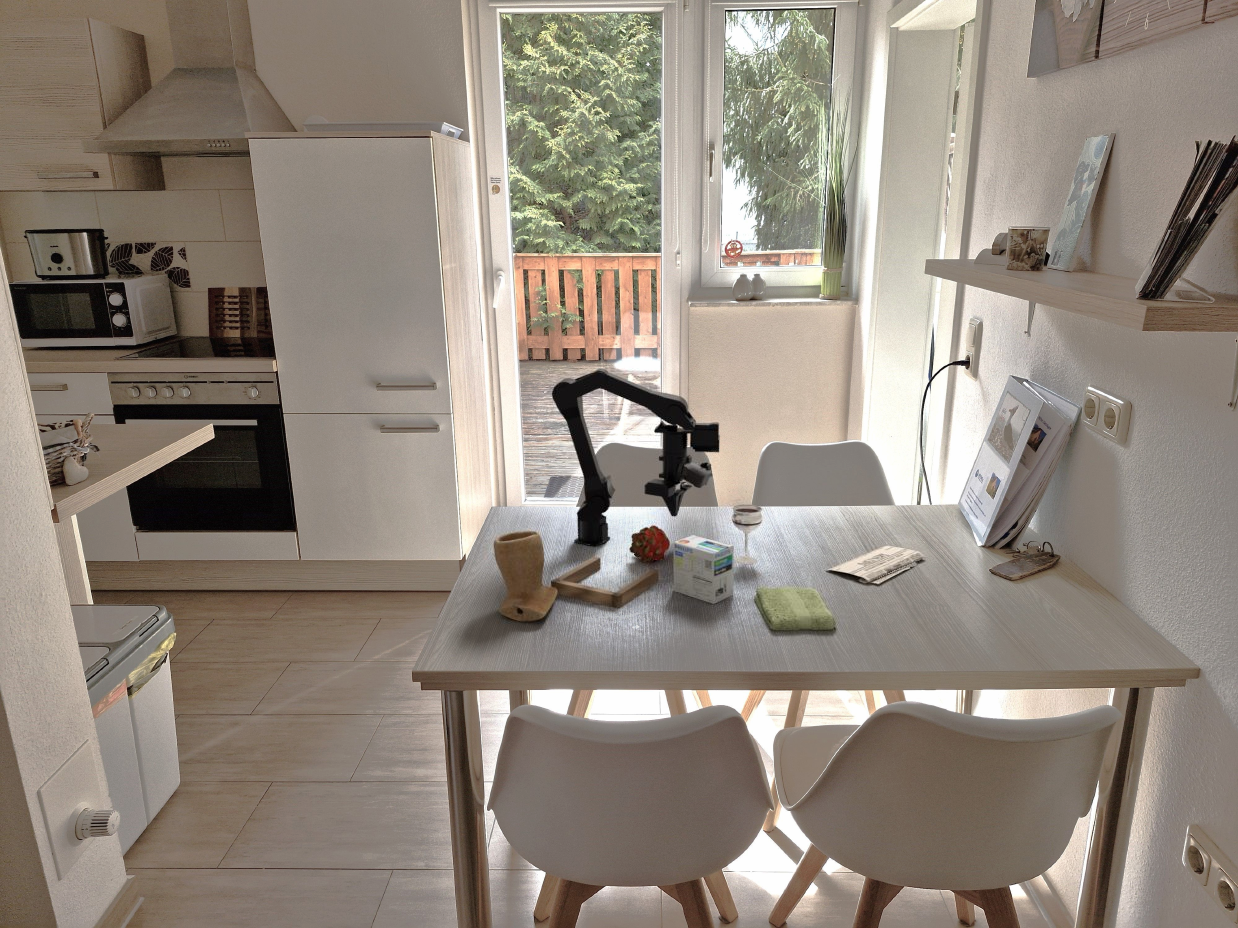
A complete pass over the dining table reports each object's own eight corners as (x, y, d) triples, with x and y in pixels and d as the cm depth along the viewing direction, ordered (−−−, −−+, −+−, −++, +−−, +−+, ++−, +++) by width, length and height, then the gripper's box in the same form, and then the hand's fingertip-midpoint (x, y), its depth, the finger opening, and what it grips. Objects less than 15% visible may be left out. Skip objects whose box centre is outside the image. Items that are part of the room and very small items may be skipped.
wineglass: (760, 555, 199) (761, 504, 196) (762, 565, 193) (763, 513, 190) (730, 554, 200) (731, 503, 197) (731, 565, 193) (732, 513, 190)
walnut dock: (551, 592, 179) (550, 581, 179) (594, 567, 193) (594, 556, 192) (618, 608, 171) (618, 596, 171) (658, 580, 185) (658, 569, 184)
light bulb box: (734, 595, 177) (735, 544, 174) (714, 605, 172) (714, 553, 170) (692, 582, 184) (693, 533, 181) (672, 591, 179) (672, 541, 177)
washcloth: (815, 596, 177) (816, 581, 176) (838, 633, 160) (839, 617, 159) (751, 597, 177) (751, 582, 176) (766, 635, 160) (767, 618, 159)
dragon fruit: (639, 576, 192) (652, 565, 203) (671, 556, 189) (682, 546, 201) (618, 543, 192) (632, 534, 204) (649, 523, 190) (661, 514, 202)
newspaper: (875, 590, 180) (875, 578, 180) (826, 579, 190) (825, 568, 189) (934, 562, 195) (933, 551, 194) (885, 554, 204) (885, 543, 203)
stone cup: (506, 591, 180) (503, 522, 176) (563, 595, 178) (561, 524, 174) (483, 622, 166) (479, 547, 162) (544, 626, 164) (541, 550, 160)
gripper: (687, 464, 190) (687, 532, 194) (723, 447, 206) (722, 510, 210) (643, 458, 196) (643, 524, 200) (681, 442, 211) (680, 504, 215)
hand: (674, 516), depth 206 cm, fingers closed
